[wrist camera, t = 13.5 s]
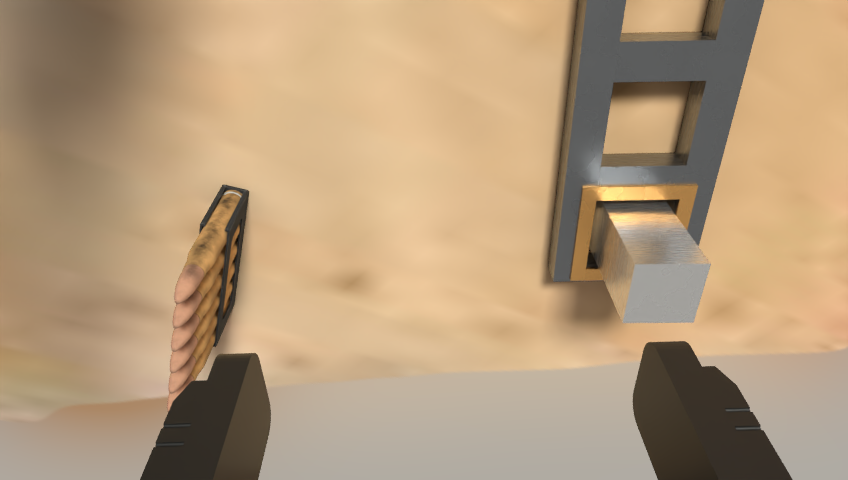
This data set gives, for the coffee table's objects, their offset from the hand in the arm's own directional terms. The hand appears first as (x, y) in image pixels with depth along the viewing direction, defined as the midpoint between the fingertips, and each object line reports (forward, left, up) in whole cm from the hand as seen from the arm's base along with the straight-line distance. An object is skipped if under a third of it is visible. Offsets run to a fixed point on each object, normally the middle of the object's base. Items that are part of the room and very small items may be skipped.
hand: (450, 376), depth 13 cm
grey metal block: (+13, +14, -29) cm, 34 cm away
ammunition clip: (+15, -15, -29) cm, 36 cm away
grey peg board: (+5, +14, -29) cm, 32 cm away
